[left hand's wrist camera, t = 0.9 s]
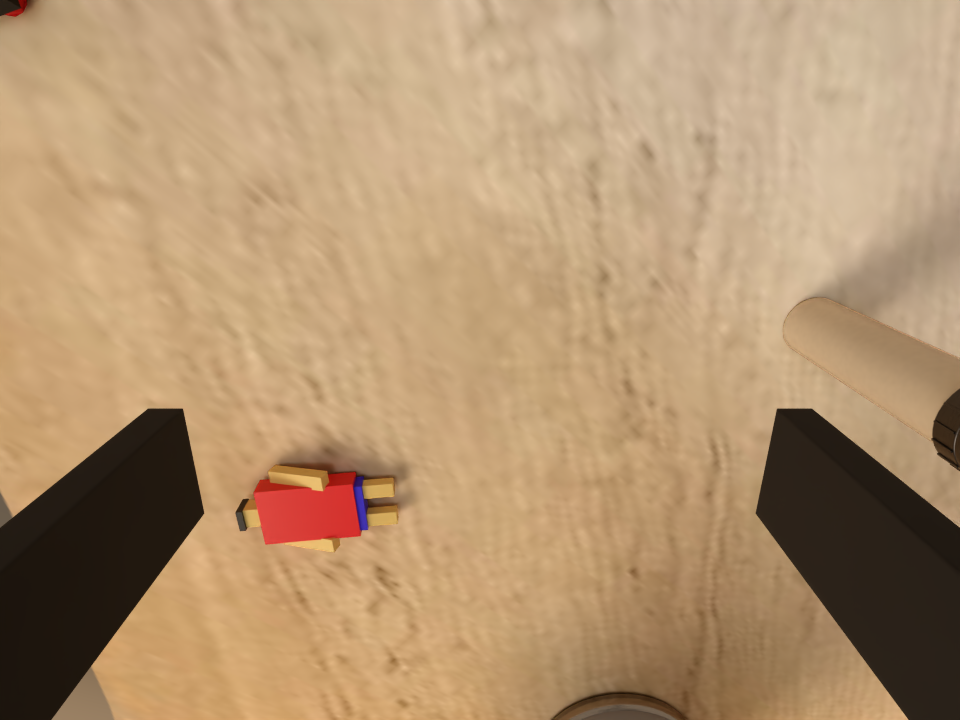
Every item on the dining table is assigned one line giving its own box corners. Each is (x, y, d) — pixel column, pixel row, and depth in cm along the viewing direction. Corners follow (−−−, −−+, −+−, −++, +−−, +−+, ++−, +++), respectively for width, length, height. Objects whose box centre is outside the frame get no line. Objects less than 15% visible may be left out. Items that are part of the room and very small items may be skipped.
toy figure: (389, 472, 43) (227, 485, 43) (399, 546, 45) (245, 560, 45) (392, 455, 45) (238, 468, 45) (401, 527, 48) (255, 539, 47)
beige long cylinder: (782, 357, 42) (954, 481, 27) (782, 302, 40) (966, 400, 25) (841, 348, 42) (1049, 467, 26) (844, 292, 40) (1066, 384, 25)
